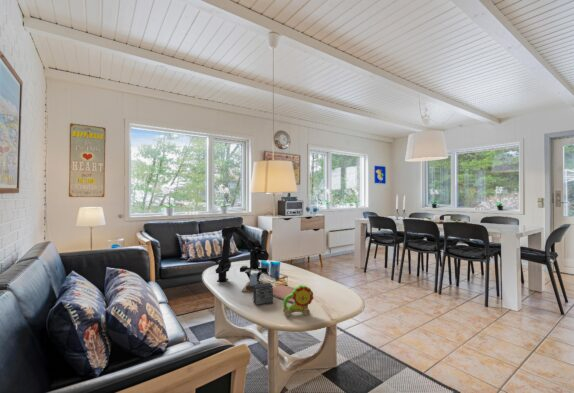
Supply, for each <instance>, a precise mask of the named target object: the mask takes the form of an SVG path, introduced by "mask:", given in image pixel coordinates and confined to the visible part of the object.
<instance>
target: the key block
mask: <svg viewBox="0 0 574 393" xmlns="http://www.w3.org/2000/svg"><path fill="white" fill-rule="evenodd" d="M249 279H250V280H249ZM257 279H258V272H251V275H250V277H249V278H248V280H249V282H250V286H253V285H257V284H259V282H258V281H257Z"/></svg>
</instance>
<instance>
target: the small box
mask: <svg viewBox="0 0 574 393" xmlns="http://www.w3.org/2000/svg"><path fill="white" fill-rule="evenodd" d="M273 288H274V286H273V285H272V283H270V282H267V283H265V284H257V285H253V292H252V293H253V294H252V295H253V297H252V298H253V304H254V306H264V305H270V304H273V303H274V296H273Z"/></svg>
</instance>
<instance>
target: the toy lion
mask: <svg viewBox="0 0 574 393" xmlns="http://www.w3.org/2000/svg"><path fill="white" fill-rule="evenodd" d="M293 289H294V290H293V291H292V293H291V294H289V295H287V296H286V297H285V299H284V300H283V313H284V316H285V317H286V318H289V317H291V316H292V314H293V313H296V312H297V313H302V315H304V316H306V317H307V316H309V315H310V313H311V311H310V309H309V305H311V304H312V301H314V292H313V290H312V289H311V288H310V287H309V286H307V285H302V284H300V285H298V286H296V287H294V288H293ZM289 299H294V300H295V303H294V304H292V303H291V304H290V306H288V305H287V304H288V302H287V301H288V300H289Z"/></svg>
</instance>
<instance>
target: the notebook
mask: <svg viewBox="0 0 574 393" xmlns="http://www.w3.org/2000/svg"><path fill="white" fill-rule="evenodd" d="M294 289H295V288H293V287H290V286H287V285H283V284H281V285H277V286H273V298H274V297H275V298H277V299H281V300H283V301H284V299H285V297H286V296H287V295H289V294H291V293H292V291H293V290H294ZM287 303H290V304H291V305H292V304H294V303H295V300H294V299H289V300H288V301H287Z"/></svg>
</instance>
